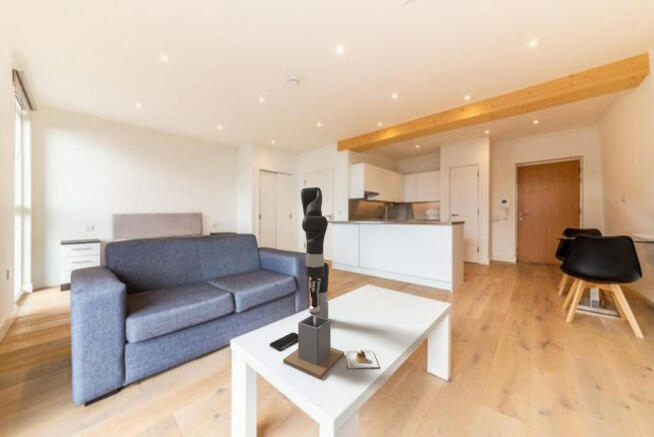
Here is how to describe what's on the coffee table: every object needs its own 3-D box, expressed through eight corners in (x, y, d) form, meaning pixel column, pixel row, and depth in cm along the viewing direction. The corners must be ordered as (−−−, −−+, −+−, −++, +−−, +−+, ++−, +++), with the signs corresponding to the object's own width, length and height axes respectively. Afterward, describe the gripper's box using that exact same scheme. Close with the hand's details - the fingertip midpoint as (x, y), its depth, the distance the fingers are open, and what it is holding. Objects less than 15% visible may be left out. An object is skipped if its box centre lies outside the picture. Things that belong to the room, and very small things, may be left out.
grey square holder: (310, 343, 110) (310, 309, 110) (344, 355, 100) (344, 318, 100) (283, 362, 95) (283, 324, 95) (320, 379, 85) (320, 336, 85)
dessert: (372, 352, 103) (372, 341, 103) (379, 370, 91) (379, 357, 91) (345, 353, 103) (345, 342, 103) (348, 370, 91) (348, 358, 91)
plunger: (312, 340, 103) (312, 301, 103) (327, 345, 99) (327, 305, 99) (301, 348, 96) (301, 307, 97) (316, 354, 92) (316, 311, 92)
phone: (304, 336, 115) (279, 350, 103) (304, 339, 115) (279, 352, 103) (292, 331, 120) (268, 343, 108) (292, 334, 120) (268, 346, 108)
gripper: (307, 261, 105) (307, 300, 105) (303, 267, 91) (303, 312, 91) (324, 261, 104) (324, 301, 104) (322, 267, 91) (322, 312, 91)
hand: (314, 306), depth 98 cm, fingers closed
